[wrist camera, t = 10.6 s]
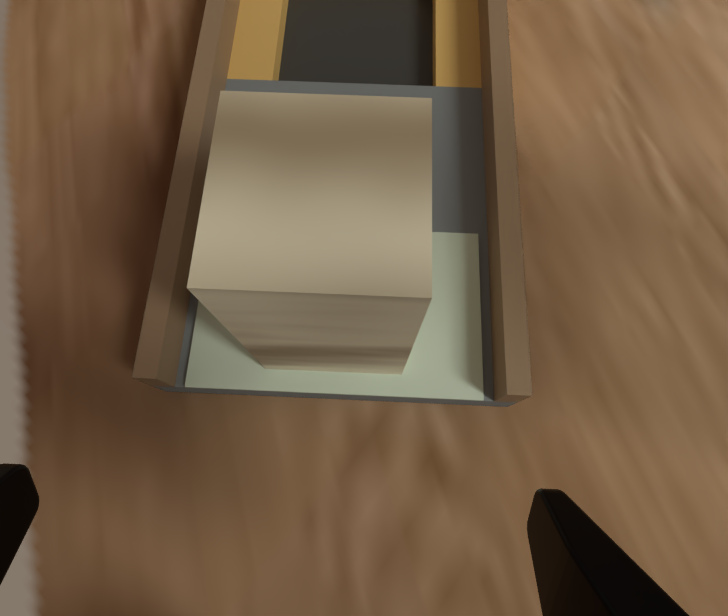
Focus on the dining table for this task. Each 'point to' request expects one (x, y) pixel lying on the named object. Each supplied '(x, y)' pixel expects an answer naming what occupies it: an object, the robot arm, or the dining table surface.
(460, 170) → the trough deck
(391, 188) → the maple block
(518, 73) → the dining table surface
